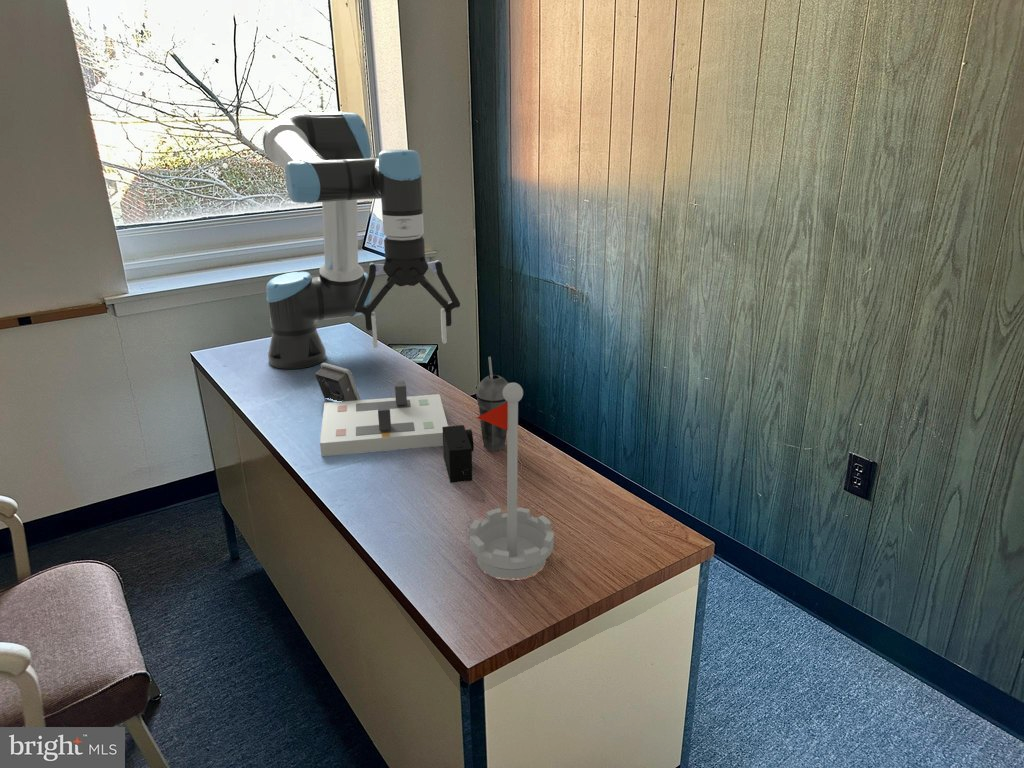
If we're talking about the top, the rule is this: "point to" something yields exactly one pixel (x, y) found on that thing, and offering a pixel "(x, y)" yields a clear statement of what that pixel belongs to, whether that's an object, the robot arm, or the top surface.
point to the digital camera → (458, 452)
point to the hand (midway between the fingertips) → (410, 343)
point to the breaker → (400, 392)
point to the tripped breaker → (384, 416)
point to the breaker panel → (359, 430)
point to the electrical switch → (337, 383)
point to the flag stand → (510, 512)
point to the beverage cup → (488, 400)
